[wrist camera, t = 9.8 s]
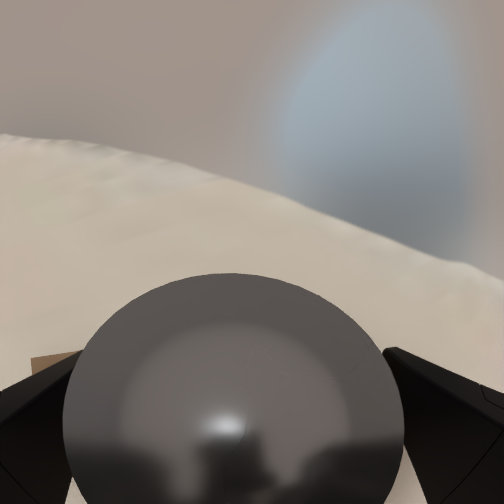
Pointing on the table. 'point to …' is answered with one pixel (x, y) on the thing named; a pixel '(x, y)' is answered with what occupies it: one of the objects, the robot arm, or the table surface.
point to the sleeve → (232, 400)
